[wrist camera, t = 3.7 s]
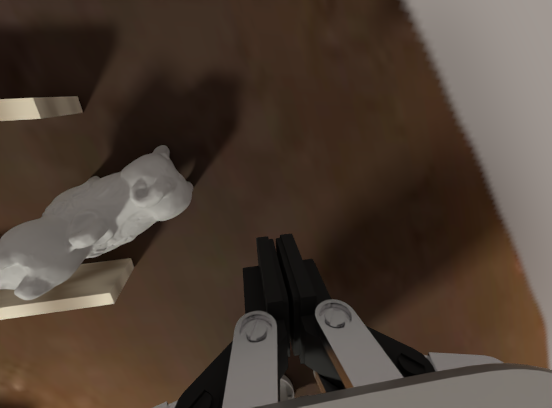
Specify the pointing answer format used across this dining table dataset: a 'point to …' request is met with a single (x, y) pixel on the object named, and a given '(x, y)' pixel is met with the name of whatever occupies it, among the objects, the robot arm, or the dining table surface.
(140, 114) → the dining table surface
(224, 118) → the dining table surface
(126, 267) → the channel
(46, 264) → the dog figurine
